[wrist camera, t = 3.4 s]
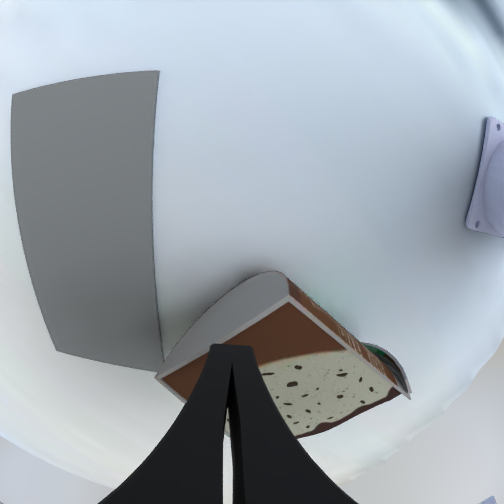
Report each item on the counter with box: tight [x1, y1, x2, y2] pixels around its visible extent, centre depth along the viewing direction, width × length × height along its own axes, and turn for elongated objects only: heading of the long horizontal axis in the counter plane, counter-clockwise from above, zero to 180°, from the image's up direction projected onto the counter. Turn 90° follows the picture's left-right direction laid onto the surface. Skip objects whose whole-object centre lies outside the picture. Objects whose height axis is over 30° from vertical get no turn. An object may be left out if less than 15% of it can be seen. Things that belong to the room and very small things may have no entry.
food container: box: [155, 271, 412, 439], centre depth 16 cm, size 12×6×10 cm
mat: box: [11, 70, 164, 372], centre depth 15 cm, size 10×20×1 cm, turn 174°
